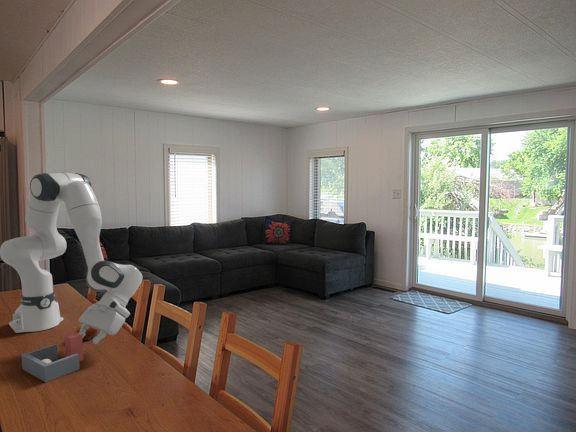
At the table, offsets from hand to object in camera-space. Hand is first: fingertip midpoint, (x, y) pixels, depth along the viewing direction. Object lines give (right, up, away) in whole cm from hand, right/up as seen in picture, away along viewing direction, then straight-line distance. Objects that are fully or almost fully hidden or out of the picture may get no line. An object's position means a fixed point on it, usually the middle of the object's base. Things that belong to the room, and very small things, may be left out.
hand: (86, 340), depth 143 cm
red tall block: (-3, -6, -3) cm, 7 cm away
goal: (-7, -7, -9) cm, 13 cm away
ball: (-7, -6, -10) cm, 13 cm away
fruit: (-8, -5, +17) cm, 19 cm away
